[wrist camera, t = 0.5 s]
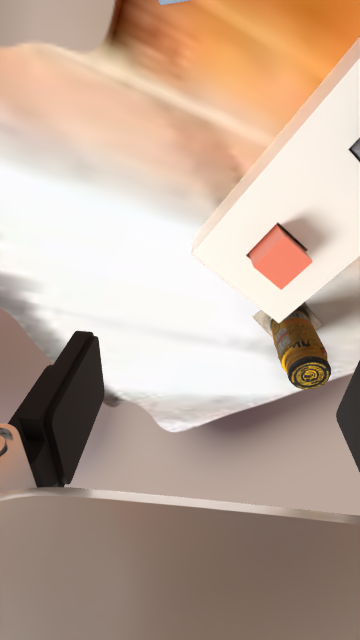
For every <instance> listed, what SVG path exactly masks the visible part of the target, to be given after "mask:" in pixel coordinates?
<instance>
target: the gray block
mask: <svg viewBox="0 0 360 640" xmlns="http://www.w3.org/2000/svg"><path fill="white" fill-rule="evenodd" d="M348 150H349V151H350V152H351V153H352V154H353V155H354V156H355V157H356V158H357V160H358V161H359V162H360V138H359V139H358V140H357V141H356V142H355V143H354V144H353V145H352V146H351V147H350V148H349V149H348Z"/></svg>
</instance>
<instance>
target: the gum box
mask: <svg viewBox="0 0 360 640" xmlns="http://www.w3.org/2000/svg"><path fill="white" fill-rule="evenodd" d="M183 1H189V0H159V3H160V5H166V4H171V3H177V2H183Z"/></svg>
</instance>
